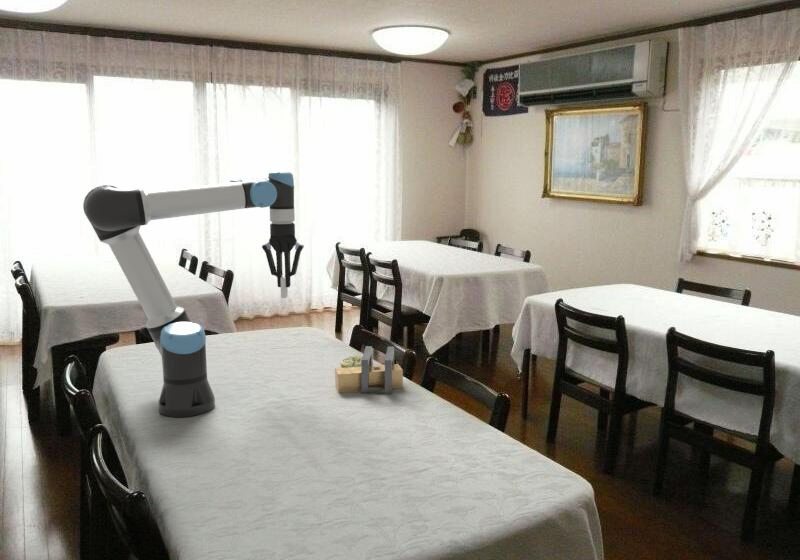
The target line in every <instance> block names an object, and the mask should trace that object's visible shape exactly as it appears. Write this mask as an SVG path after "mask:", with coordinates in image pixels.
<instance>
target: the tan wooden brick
mask: <svg viewBox="0 0 800 560" xmlns="http://www.w3.org/2000/svg"><path fill="white" fill-rule="evenodd" d="M334 374H335V375H334V376H335V378H334V379H335V385H334V386H335V389H336V391H337V392H338V394H339V393H348V392H349V393H351V392H362V375H361V367H347V368H342V367H336V368H334ZM403 374H404V370H403V368H402V367H401V365H399V363H396V364H395V363H394V364H392V389H399V388H400V389H402V388H403V387H404V385H403V384H404V380H403V379H404V375H403ZM369 387H383V388H385V364H380V365H379V364H378V365H372V366H369Z"/></svg>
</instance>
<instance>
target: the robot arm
mask: <svg viewBox="0 0 800 560" xmlns="http://www.w3.org/2000/svg"><path fill="white" fill-rule="evenodd" d="M82 206H83V211H84V215H85V216H86V219H87V220H88V222H89V223H90V225H91V227H92V229H93V231H94V233H95V234H96V236H97V238H98V239H99V242H101V243H102V244H103V243H104V244H106V245H109V247H110V249H111V251H112V254H113V255H114V257H115V259H116V261H117V262H118V265H119V266H120V268H121V270H122V272H123V274H124V276H125V278H126V279H127V282H128V283H129V285H130V287H131V289H132V291H133V293H134V295H135V297H136V298H137V300H138V302H139V304H140V307H141V309H143V310H142V311H143V312H144V314H145V316H146V317H147V321H146V324H145V327H146V329H147V331H148V333H149V334H150V335H149V336H151V339H152V340H153V344H154V345H155V347H156V349H157V350H158V352H159V354H160V356H161V362H162V376H163V377H162V379H163V385H162V387H161V392H160V394H159V395H160V396H159V399H158V403H157V404H158V407H157V408H158V413H160V414H161V415H162V414H163V416H165V415H166V417H171V418H185V417H186V418H187V417H194V416H199V415H201V414H205V413H207V412H209V411H211V410H212V409H214V408H215V406H216V405H215V404H216V398H215V394H214V393H213V390H212V388H211V384H210V382H209V380H208V366H207V353H206V352H207V351H206V350H207V349H206V345H207V344H206V341H207V337H206V332H205V329H204V327H203V326H202V325H201V324H199V323H195V322H191V319H190V318H189V316H188V314H187V311H186V310H185V308H184V307H183V306H179V305H177V304H176V301H175V300H174V298H173V296H172V295H171V292H170V290H169V289H168V286H167V285H166V282H165V281H164V279H163V276H162V275H161V273H160V271H159V269H158V267H157V264H156V263H155V261H154V259H153V257H152V255H151V253H150V251H149V249H148V247H147V245H146V243H145V241H144V240H143V237H142V235H141V233H140V229H141V226H146V225H148V224H149V222H150V221H156V220H163V219H171V218H181V217H186V216H187V217H189V216H195V215H203V214H212V213H219V212H227V211H235V210H244V209H251V208H252V209H253V208H254V209H255V208H261V209H262V208H264V209H265V208H267V207H269V221H270V223H269V224H270V225H269V230H270V231H269V232H270V234H269V235H270V237H269V239H268V242H267V243H265V244H262V246H261V248H262V250H263V251H264V252H265V257H266V260H267V263H268V267H269V271H270V274H271V275H272V276H275V277H276V278H277V281H276V283H277V284H276V285H277V287H278V288H280V298H281V299H287V298H288V297H289V296H288V293H289V292H288V288H290V287H291V285H292V284H291V283H292V282H291V277H292V276H295V275H296V274H297V270H298V266H299V261H300V258H301V257H300V256H301V252H302V251H303V249H304V248H305V246H304V244H301V243H299V242H298V241H297V240H298V239H297V238H296V224H295V223H294V222H295V183H294V175H293V173H291V172H289V171H270V172H269V173H268V176H267V178H241V177H240V178H232V179H231V180H230V181H229V182H226V183H217V184H207V185H198V186H186V187H178V188H170V189H169V188H168V189H167V188H166V189H160V190H159V189H158V190H149V191H145V190H143V189H142V188H128V189H127V188H119V187H116V186H113V185H109V184H105V185H104V184H103V185H100V186H96V187H94V188H92V189H91V190H89V192H88V193H87V194H86V195H85V197H84V199H83V205H82ZM293 248H294V250H295V252H294V256H293V257H294V258H293V262H292V267H291V251H292V250H293ZM271 249H273V250H274V251H275V256H276V257H275V258H276V263H275V260H274V258H273V257H274V256H273V253H272V250H271ZM283 255H284V273H283Z"/></svg>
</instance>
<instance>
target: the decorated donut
mask: <svg viewBox="0 0 800 560" xmlns="http://www.w3.org/2000/svg"><path fill="white" fill-rule="evenodd" d="M362 356H363V355H352V356H348V357H345V358H343V359H342V360H341V361H340V366H341V367H340V368H347V367H361V359H362ZM373 362H374V361H373V359H372V366H374V363H373Z"/></svg>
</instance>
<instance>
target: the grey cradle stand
mask: <svg viewBox="0 0 800 560" xmlns="http://www.w3.org/2000/svg"><path fill="white" fill-rule="evenodd" d="M361 356H362V359H361V375H362V391H361V394H364V395H365V394H380V395H382V394H385V395H392V393H393V388H392V364H395V346H387V348H386V354H385V358H384V365H385V388H383V387H369V366H373V365H372V360H373V346H370V345H366V346H365V348H364V352H363V353H362V355H361Z"/></svg>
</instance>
